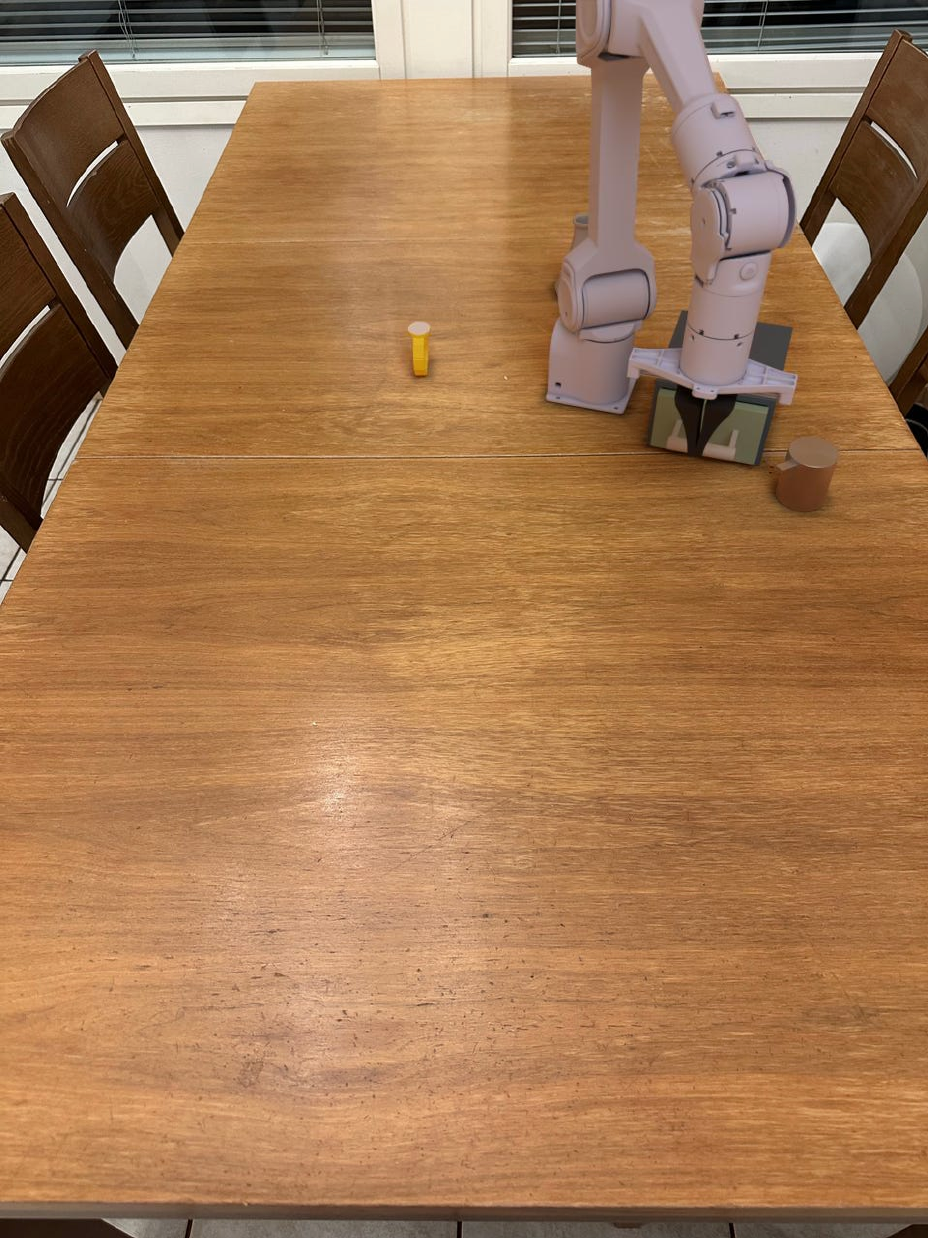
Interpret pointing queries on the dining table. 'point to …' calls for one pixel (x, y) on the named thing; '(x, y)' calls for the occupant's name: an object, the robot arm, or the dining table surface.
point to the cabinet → (764, 349)
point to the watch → (420, 346)
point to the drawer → (727, 442)
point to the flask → (576, 237)
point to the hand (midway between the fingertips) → (696, 449)
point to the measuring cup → (806, 473)
